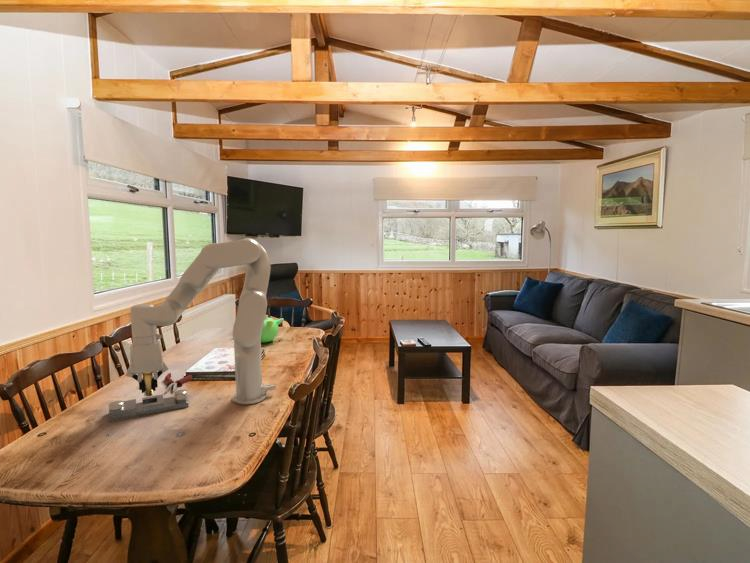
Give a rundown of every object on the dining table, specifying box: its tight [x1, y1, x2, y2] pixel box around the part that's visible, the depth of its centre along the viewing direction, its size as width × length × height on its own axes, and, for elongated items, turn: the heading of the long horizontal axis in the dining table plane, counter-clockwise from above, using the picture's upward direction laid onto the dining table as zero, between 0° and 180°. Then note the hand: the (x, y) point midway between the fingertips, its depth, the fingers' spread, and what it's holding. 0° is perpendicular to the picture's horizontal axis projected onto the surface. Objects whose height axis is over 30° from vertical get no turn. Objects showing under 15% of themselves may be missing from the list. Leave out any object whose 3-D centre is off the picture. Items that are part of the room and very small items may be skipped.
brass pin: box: [142, 372, 155, 397], centre depth 146 cm, size 4×4×9 cm
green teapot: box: [261, 316, 285, 344], centre depth 233 cm, size 18×17×15 cm
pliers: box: [164, 372, 192, 394], centre depth 171 cm, size 12×20×3 cm, turn 12°
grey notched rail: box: [108, 389, 190, 423], centre depth 147 cm, size 24×9×4 cm, turn 119°
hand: (148, 390), depth 146 cm, fingers closed on brass pin, 3 cm apart
